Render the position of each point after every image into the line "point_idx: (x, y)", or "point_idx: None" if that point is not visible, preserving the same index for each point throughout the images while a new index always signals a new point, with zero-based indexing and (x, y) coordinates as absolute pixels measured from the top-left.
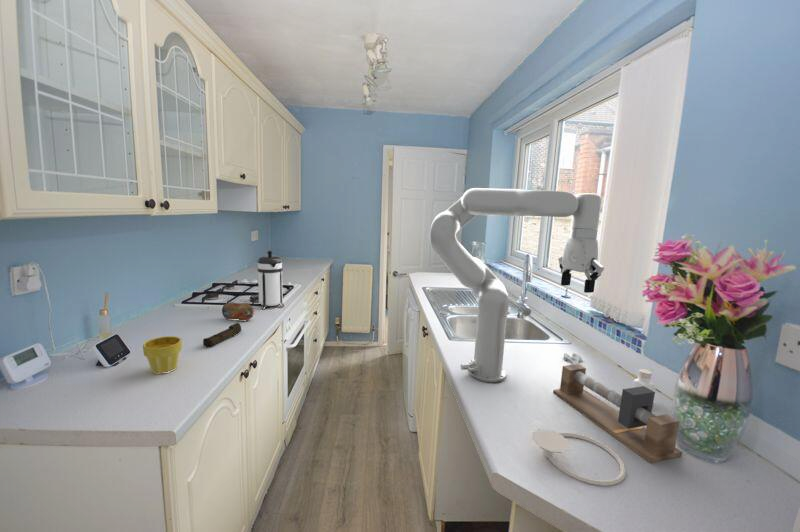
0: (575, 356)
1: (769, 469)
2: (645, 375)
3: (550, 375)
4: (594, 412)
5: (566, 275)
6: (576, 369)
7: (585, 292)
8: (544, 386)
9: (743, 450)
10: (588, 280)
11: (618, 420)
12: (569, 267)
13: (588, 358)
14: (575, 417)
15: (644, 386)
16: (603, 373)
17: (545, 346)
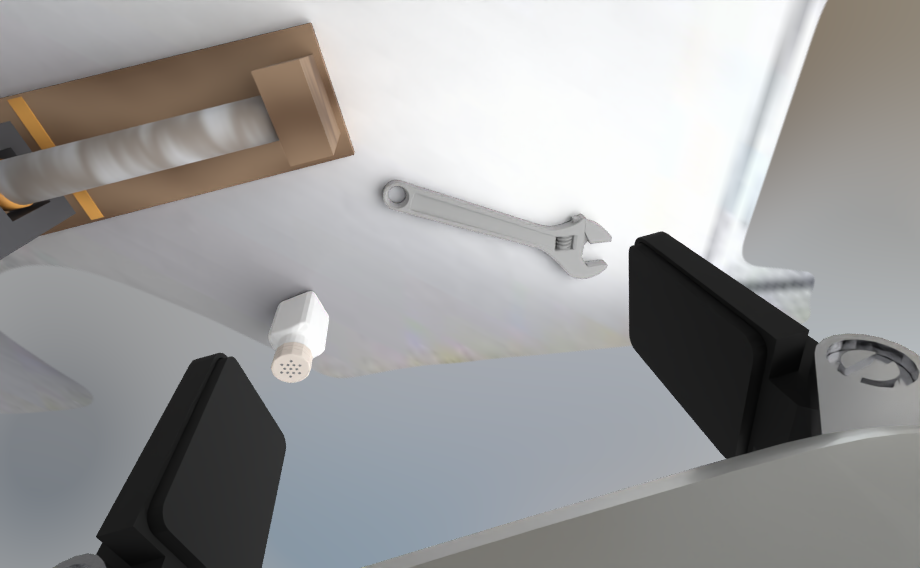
0: (582, 261)
1: (19, 400)
2: (274, 356)
3: (460, 93)
4: (151, 103)
5: (726, 375)
6: (268, 112)
7: (206, 359)
8: (364, 11)
9: (92, 397)
10: (132, 544)
11: (4, 122)
12: (623, 562)
13: (578, 302)
14: (120, 14)
15: (270, 332)
16: (472, 294)
17: (696, 201)
